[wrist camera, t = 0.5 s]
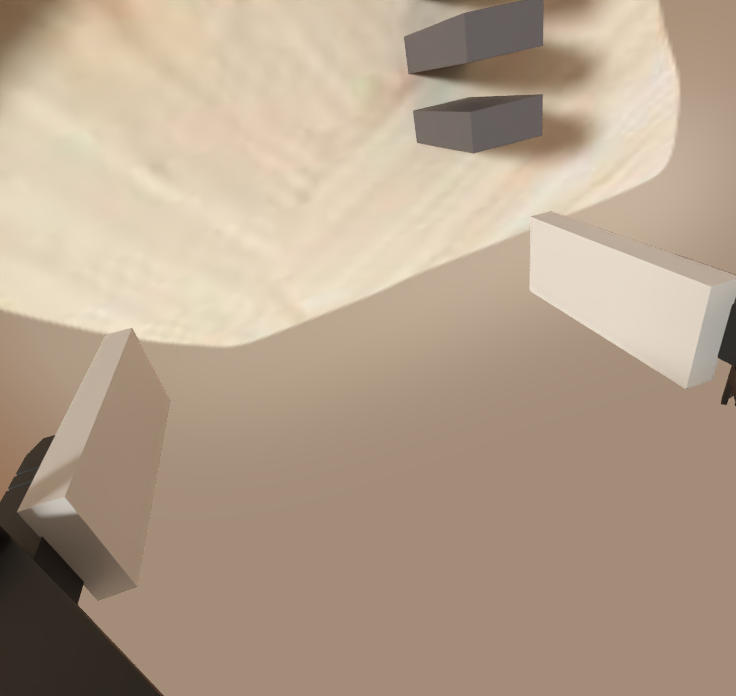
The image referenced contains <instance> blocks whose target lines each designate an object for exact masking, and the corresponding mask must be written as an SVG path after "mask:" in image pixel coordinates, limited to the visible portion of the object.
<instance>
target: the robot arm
mask: <svg viewBox="0 0 736 696" xmlns="http://www.w3.org/2000/svg"><path fill="white" fill-rule="evenodd" d="M530 291H531V292H533V293H534V294H536V295H538V296H539V297H541V298H542V299H544V300H545V301H547V302H548V303H550V304H552V305H553V306H555V307H556V308H558V309H560V310H561V311H563V312H565V313H566V314H567V315H569V316H571V317H572V318H574V319H575V320H577V321H579V322H580V323H582V324H583V325H585V326H587V327H588V328H590V329H591V330H593V331H595V332H596V333H598V334H600V335H601V336H602V337H604V338H606V339H607V340H609V341H610V342H612V343H614V344H615V345H617V346H618V347H620V348H621V349H623V350H625V351H626V352H628V353H630V354H631V355H633V356H634V357H636V358H637V359H639V360H641V361H642V362H644V363H645V364H647V365H648V366H650V367H652V368H653V369H655V370H657V371H658V372H660V373H661V374H663V375H664V376H666V377H668V378H669V379H671V380H672V381H674V382H676V383H677V384H679V385H680V386H682V387H683V388H685V389H688V388H691V387H693V386H696V385H699V384H702V383H704V382H707V381H710V380H712V379H713V375H714V372H715V368H716V365H717V361H718V358H720V359H721V360H723V361H725V362H728V363H729V364H731V365H732V367H731V370H730V373H729V376H728V379H727V383H726V386H725V390H724V393H723V396H722V400H721V404H724V405H726V404H727V402H728V399H729V398H731V397H732V396H734V399H735V402H736V275H735V274H731V273H729V272H726V271H723V270H720V269H717V268H714V267H711V266H708V265H706V264H703V263H700V262H696V261H694V260H691V259H688V258H685V257H683V256H680V255H677V254H673V253H670V252H667V251H664V250H662V249H658V248H656V247H653V246H650V245H647V244H644V243H641V242H638V241H635V240H633V239H630V238H626V237H624V236H621V235H618V234H615V233H612V232H609V231H607V230H604V229H601V228H597V227H595V226H592V225H589V224H586V223H583V222H580V221H577V220H575V219H572V218H569V217H566V216H563V215H560V214H557V213H554V212H552V211H550V212H546V213H543V214H539V215H535V216H532V217H531V219H530ZM169 405H170V399H169V397H168V395H167V393H166V391H165V389H164V387H163V386H162V383H161V382H160V380H159V378H158V376H157V374H156V372H155V370H154V368H153V366H152V365H151V363H150V361H149V359H148V357H147V355H146V353H145V351H144V349H143V348H142V346H141V344H140V342H139V340H138V338H137V336H136V334H135V332H134V331H133V329H132V328H130V329H126V330H123V331H119V332H116V333H112V334H108V335H105V337H104V339H103V341H102V343H101V345H100V347H99V350H98V351H97V353H96V355H95V357H94V359H93V361H92V363H91V365H90V367H89V369H88V371H87V373H86V375H85V377H84V379H83V381H82V383H81V385H80V387H79V389H78V391H77V393H76V395H75V397H74V399H73V401H72V403H71V405H70V407H69V409H68V411H67V413H66V415H65V417H64V419H63V421H62V423H61V425H60V427H59V429H58V431H57V433H56V435H53V436H50V437H47V438H44V439H42V440H41V441H40V442H39V443H38V444H37V445H36V446H35V447H34V449H33V450H31V451H30V453H28V454H27V455H26V457H25V458H24V460H23V462H22V464H21V466H20V468H19V469H18V471H17V473H16V474H17V476H16V477H14V479H13V480H12V482H11V484H10V486H9V491H6V493H5V495H4V496H3V498H2V500H1V502H0V696H164V695H163V694H162V693H161V692H160V691H159V690H158V689H157V688H156V687H155V686H154V685H153V684H152V683H151V682H150V681H149V680H148V679H147V678H146V677H145V675H144V674H143V673H142V672H141V671H140V670H139V669H138V668H137V667H136V666H135V665H134V664H133V663H132V662H131V661H130V660H129V659H128V657H127V656H126V655H125V654H124V653H123V652H122V651H121V650H120V649H119V648H118V647H117V646H116V645H115V644H114V643H113V642H112V641H111V640H110V639H109V637H108V636H107V635H106V634H105V633H104V632H103V631H102V630H101V629H100V628H99V627H98V626H97V625H96V624H95V623H94V622H93V621H92V619H91V618H90V617H89V616H88V615H87V614H86V613H85V612H84V611H83V610H82V609H81V608H80V607H79V606H78V605H77V604H78V601H79V597H80V594H81V591H82V587H83V585H84V586H85V587H86V588H87V589H88V590H89V591H90V592H91V593H92V595H93V596H94V597H95V598H96V599H97V600H98V601H99V600H102V599H105V598H107V597H110V596H113V595H116V594H118V593H121V592H124V591H127V590H130V589H132V588H135V587H137V585H138V580H139V574H140V569H141V563H142V557H143V552H144V546H145V540H146V534H147V529H148V524H149V518H150V512H151V506H152V501H153V495H154V489H155V484H156V479H157V473H158V467H159V462H160V456H161V450H162V444H163V439H164V433H165V428H166V422H167V417H168V410H169ZM735 406H736V403H735Z"/></svg>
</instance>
